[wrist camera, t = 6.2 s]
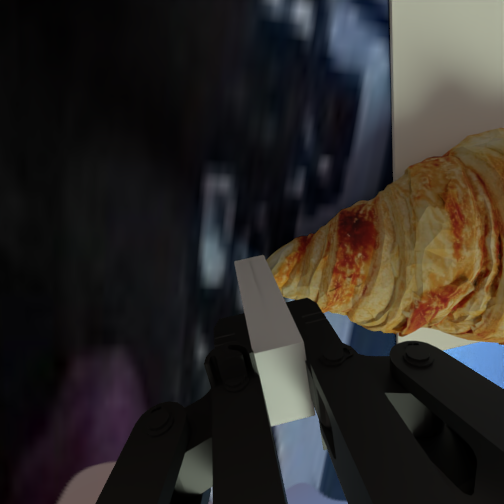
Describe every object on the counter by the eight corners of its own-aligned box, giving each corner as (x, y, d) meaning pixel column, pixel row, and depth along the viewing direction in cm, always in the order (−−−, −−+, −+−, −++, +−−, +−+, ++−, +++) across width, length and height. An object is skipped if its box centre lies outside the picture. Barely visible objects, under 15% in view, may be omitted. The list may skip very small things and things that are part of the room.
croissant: (260, 282, 22) (284, 407, 16) (237, 153, 14) (267, 309, 9) (567, 225, 22) (689, 332, 16) (711, 63, 14) (1024, 168, 9)
